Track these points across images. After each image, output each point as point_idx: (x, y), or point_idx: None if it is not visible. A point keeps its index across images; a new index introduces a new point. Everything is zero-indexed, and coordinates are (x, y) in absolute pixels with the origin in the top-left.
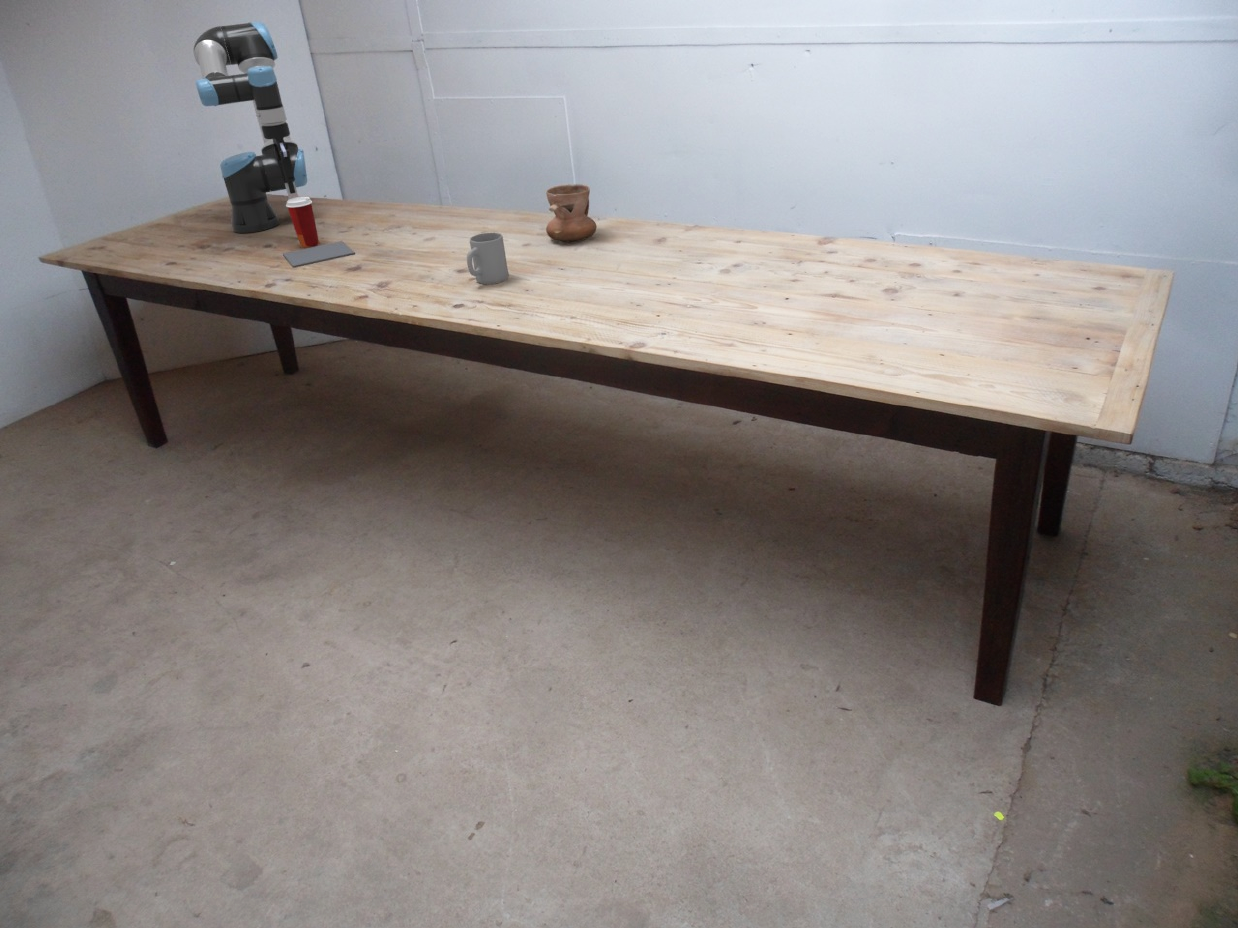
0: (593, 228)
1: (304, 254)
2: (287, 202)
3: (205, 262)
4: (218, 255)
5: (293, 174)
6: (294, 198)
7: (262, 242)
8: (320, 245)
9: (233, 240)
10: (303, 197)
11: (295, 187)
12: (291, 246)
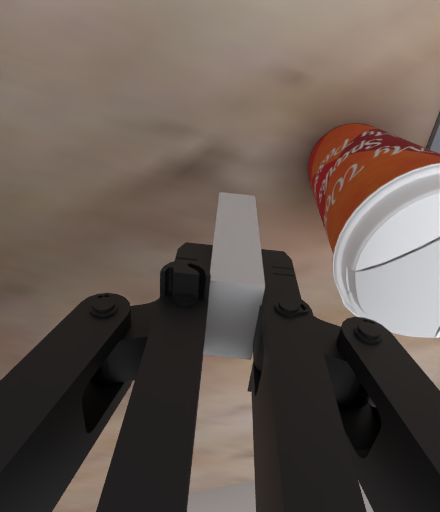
0: None
1: None
2: (418, 335)
3: (222, 423)
4: None
5: (432, 385)
6: (371, 278)
7: (129, 279)
8: (435, 140)
9: (23, 332)
10: (423, 222)
11: (260, 255)
12: (287, 223)
